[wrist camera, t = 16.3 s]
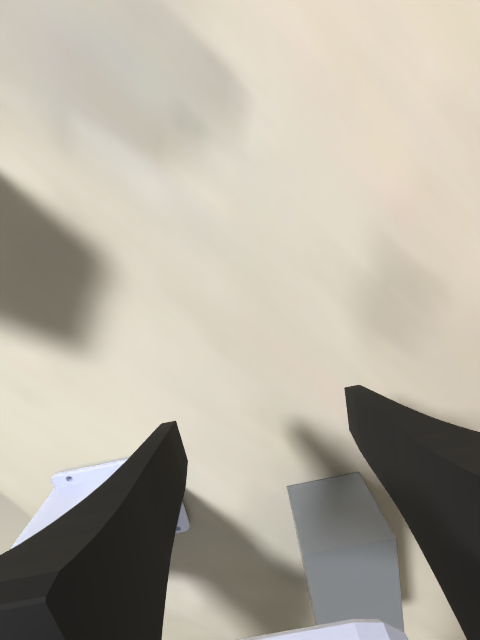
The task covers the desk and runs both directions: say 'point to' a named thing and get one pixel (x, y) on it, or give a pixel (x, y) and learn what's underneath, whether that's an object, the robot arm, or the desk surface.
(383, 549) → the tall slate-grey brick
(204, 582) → the desk surface
